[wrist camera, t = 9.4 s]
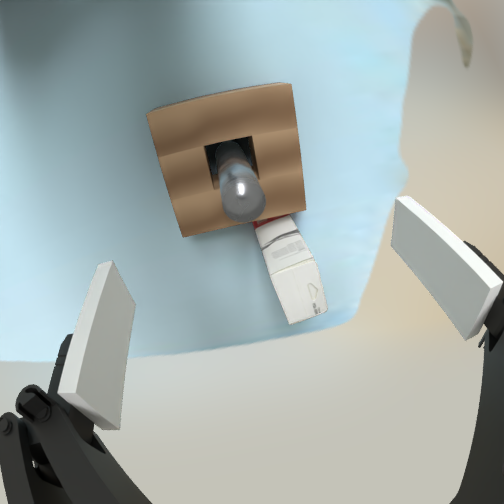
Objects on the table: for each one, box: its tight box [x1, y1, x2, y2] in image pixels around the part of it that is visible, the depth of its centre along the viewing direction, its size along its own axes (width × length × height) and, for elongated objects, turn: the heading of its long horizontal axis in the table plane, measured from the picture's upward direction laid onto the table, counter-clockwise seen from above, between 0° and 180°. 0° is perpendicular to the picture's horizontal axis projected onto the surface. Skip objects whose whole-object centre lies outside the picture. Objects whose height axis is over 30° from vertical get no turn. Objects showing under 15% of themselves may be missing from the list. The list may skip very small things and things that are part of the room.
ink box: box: [252, 214, 328, 325], centre depth 36 cm, size 9×5×12 cm, turn 21°
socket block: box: [146, 83, 306, 238], centre depth 31 cm, size 14×14×5 cm
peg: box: [215, 141, 266, 223], centre depth 28 cm, size 3×3×14 cm
